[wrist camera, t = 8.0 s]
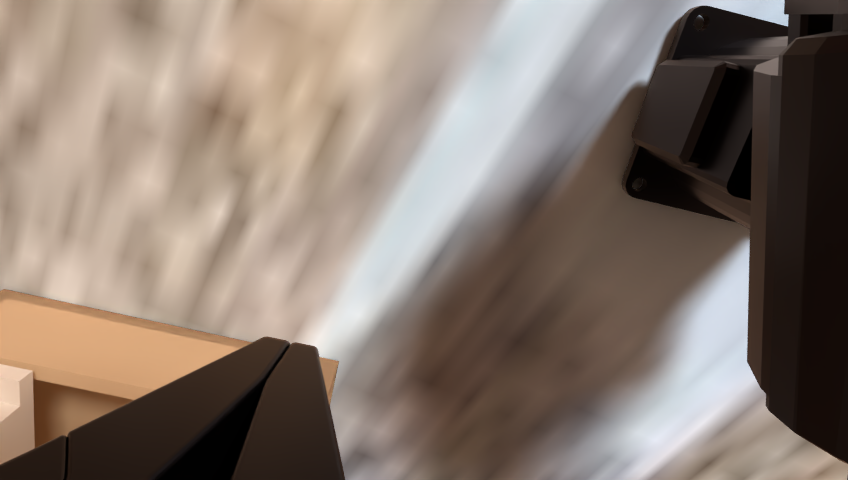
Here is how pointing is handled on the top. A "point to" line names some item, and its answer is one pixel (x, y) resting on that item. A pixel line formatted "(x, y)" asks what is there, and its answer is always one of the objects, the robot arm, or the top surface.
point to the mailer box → (100, 358)
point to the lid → (16, 412)
